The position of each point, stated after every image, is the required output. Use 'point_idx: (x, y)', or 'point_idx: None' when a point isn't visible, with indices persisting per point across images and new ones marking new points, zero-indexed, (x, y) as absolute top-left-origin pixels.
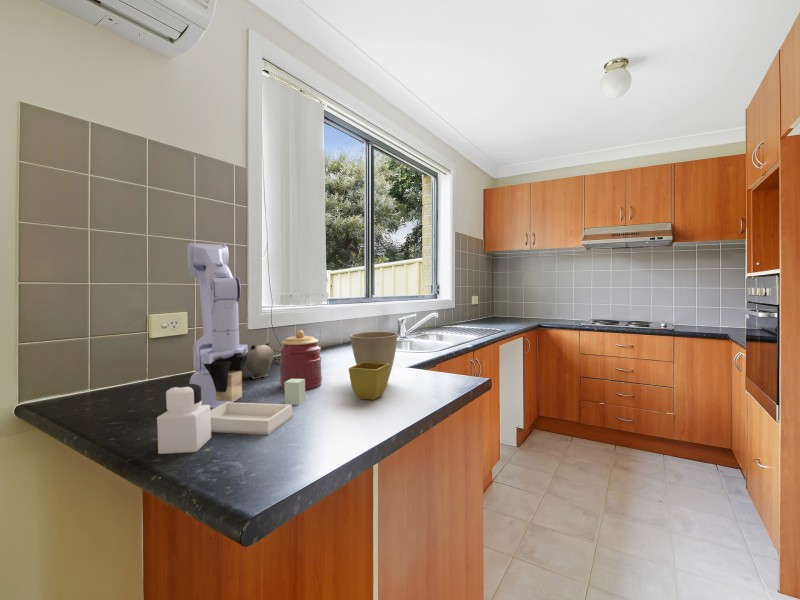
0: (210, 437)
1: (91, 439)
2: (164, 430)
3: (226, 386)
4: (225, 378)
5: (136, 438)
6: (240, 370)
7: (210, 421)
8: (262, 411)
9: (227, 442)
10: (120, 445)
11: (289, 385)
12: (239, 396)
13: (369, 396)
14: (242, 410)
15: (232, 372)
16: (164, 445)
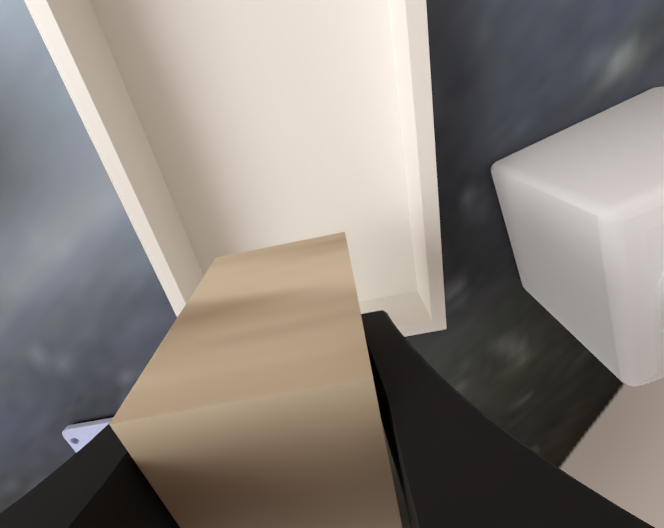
0: (505, 157)
1: None
2: None
3: (371, 331)
4: (425, 382)
5: (521, 406)
6: (88, 464)
7: (542, 178)
8: (140, 145)
9: (529, 29)
10: (579, 398)
11: None
12: (249, 254)
13: None
14: (191, 268)
15: (237, 464)
16: None
